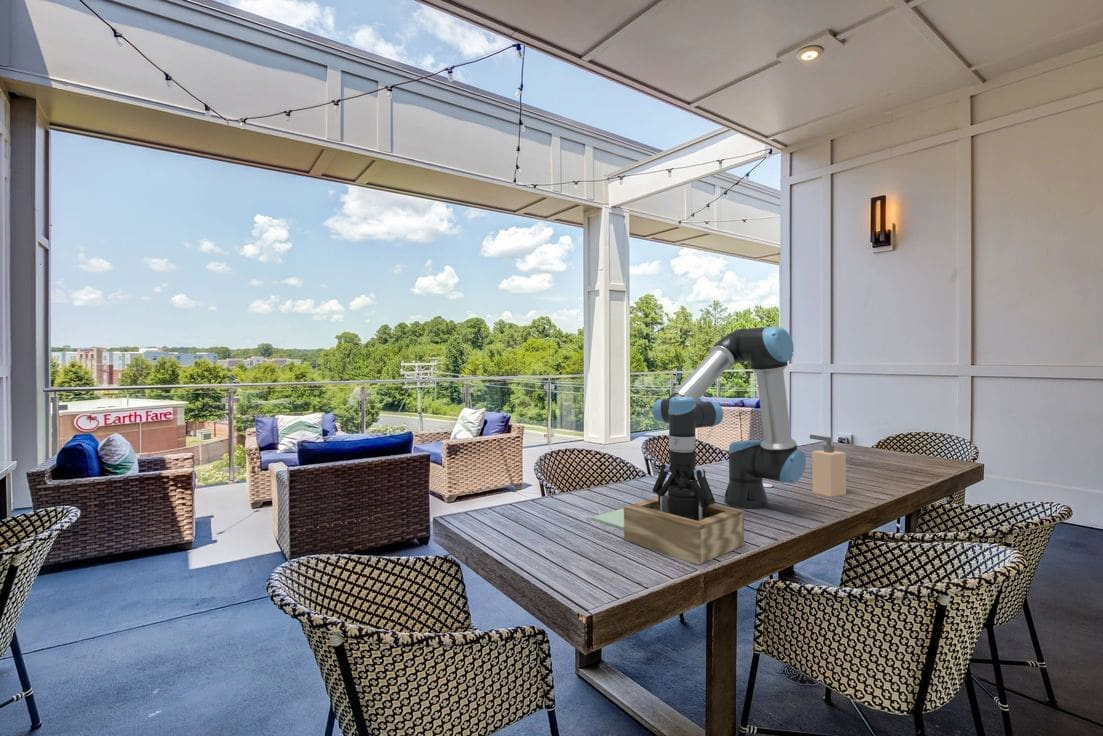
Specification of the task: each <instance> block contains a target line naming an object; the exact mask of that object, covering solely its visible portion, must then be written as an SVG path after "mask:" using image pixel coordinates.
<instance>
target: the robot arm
mask: <svg viewBox="0 0 1103 736" xmlns="http://www.w3.org/2000/svg"><path fill="white" fill-rule="evenodd" d="M793 353H794V343H793V340H792V337H791V335H790V333H789V332H788V331H787V330H786V329H785V328H784V327H779V326H761V327H749V328H739V329H736V330H734V331H732V332H730V333H728V334H726V335H725V336H724V337H722V338H720V339H719V340H718V341H717V342H716V343H715V344H713V346H712V347H711V348H709V351H708V355H707V356H706V357H705V358H704V360H702V362H701V363H700V364H699V365H698V366H697V367H696V368H695V369H694V370H693V371H692V372H691V373H690V374H689V375H688V376H687V377H686V378H685V380H683V381H682V383H681V384H680V385H679V386H678V387H677V388H676V389H675V390H674V391H673V392H672V393H671V394H670V395H669V396H668V397H667V398H662V399H661V398H659V399H657V400H656V401H654V403H653V406H652V410H651V411H652V416H653V417H654V419H655V420H656V421H658V422H660V423H665V424H668V429H669V431H668V433H669V434H668V441H669V443H668V446H669V447H668V449H670V450H669V451H668V455H669V457H668V461H669V462H666V463H662V464H660V470H659V474H658V477H657V478H656V481H655V483H654V486H653V488H652V493H654V494H657V497H658V505H659V506H660V511H661V512H665V513H668V495H667V492H668V487H670V486H672V485H673V484H674V482H675V480H676V482H679V479H678V478H677V474H678V475H681V476H684V477H685V478H684V480H685V481H686V483H687V485H688V486H690V487H691V489H693V490H694V492H696V497H697V499H698V500H699V502H700V503H701V505H699V520H702V519H705V518H707V517H708V516H709V505H712V504H716V499H715V496H714V494H713V492H712V489H711V487H710V484H709V482H708V480H707V477H706V470H705V469H703V468H702V469H696V466H695V465H696V461H697V459H696V457H697V456H696V455H697V454H696V451H695V450H696V448H697V445H696V429H698V428H709V427H710V428H712V427H715V426H718V425H719V424H721V422H722V421H723V418H724V409H723V408H722V406H721V405H720V403H718V402H716V401H711V400H710V401H708V400H706V401H699V399H700V398H701V397H702V396H703V395H704V394H705V393H706V392H707V390H708V389H709V388H711V386H712V385H713V384H714V383H715V382H716V381H717V380H718V379H719V378H720V376H722V374H723V373H724V372H725V371H726V370H729V369H732V367H734V365H735V364H738V363H743V362H744V363H750V370H752V371H753V372H754V373H756V374H755V375H756V380H757V389H758V390H757V391H758V398H759V407H760V414H761V422H762V423H761V424H762V431H763V440H761V439H752V440H751V439H749V440H747V439H746V440H737V441H732V442H731V443H730V444H729V447H728V478H729V479H728V484H727V486H726V490H725V493H724V497H723V499H724V503H725V504H726V505H728V506H731V507H733V508H741V509H762V508H766V507H767V506H768V505H769V498H768V495H767V492H766V489H765V486H764V484H763V483H764V482H763V480H769V481H773V482H774V481H775V482H780V483H781V484H785V483H787V484H795V483H797V482H799V481H800V480H801V478H802V476H803V475H804V472H805V471H806V470H805V469H806V467H807V456H806V453H805V452H804V451H803V450H801V449H798V443H797V441H796V440H795V439H793V438H792V433H791V432H792V431H791V427H790V426H791V425H790V417H789V409H788V400H787V389H786V382H785V372H784V370H785V369H786V368H787V367H788V362H790V360H791V359H792V358H793V355H794V354H793ZM669 463H670V464H669ZM669 473H670V475H669V477H668V474H669ZM667 477H668V478H667ZM666 479H667V480H666ZM691 480H692V481H691Z"/></svg>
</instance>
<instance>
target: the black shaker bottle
mask: <svg viewBox="0 0 1103 736" xmlns="http://www.w3.org/2000/svg"><path fill="white" fill-rule="evenodd" d="M677 478H678V479H679V482H676V480H675V482H674V484H673V485H672V486H670V487H668V491H667V492H668V493H667V494H668V497H669V498H670V511H669V514H673V515H677V516H681V517H684V518H688V519H692V520H696V521H699V500H698V499H697V497H696V492H694V490H693V489H691V487H690V486H688V485H687V483H686V481H685V480H684V478H685V477H684V476H681V475H678V474H677ZM691 481H692V480H691Z"/></svg>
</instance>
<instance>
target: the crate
mask: <svg viewBox="0 0 1103 736" xmlns="http://www.w3.org/2000/svg"><path fill="white" fill-rule="evenodd" d="M666 495H668V493H666ZM699 505H701V503H700V502H699ZM623 508H624V530H623V535H624V536H623V540H624V541H627V542H629V543H632V544H635V545H638V546H641V547H644V548H646V549H650V550H653V551H657V552H658V553H659V552H660V553H663V554H665V555H668V556H670V557H675V558H677V559H680V560H683V561H686V562H689V563H692V564H695V563H696V564H695V565H698V564H700V565H702V564H704V563H703V562H705V563H707V562H709V561H711V560H713V558H714V559H716V558H718V557H720V556H719V555H721V556H722V554H723V555H725V554H727V553H730V552H732V551H735V550H736V549H738V548H742V547H743V546H745V524H744V523H745V521H744V520H745V518H744V517H745V511H744V510H743V509H739V508H736V507H730V506H725V505H721V504H716V503H715V504H712V505H709V516H708V517H707V518H705V519H702V520H699V521H696V520H692V519H688V518H684V517H681V516H677V515H673V514H669V511H670V498H669V497H668V513H665V512H661V511H660V506H659V505H658V496H656V497H653V498H650V499H646V500H642V501H638V502H635V503H632V504H628V505H625V506H624V505H623ZM724 553H725V554H724ZM717 556H718V557H717ZM715 557H716V558H715ZM708 560H709V561H708ZM706 561H707V562H706ZM701 563H702V564H701Z"/></svg>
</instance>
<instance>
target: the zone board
mask: <svg viewBox="0 0 1103 736" xmlns="http://www.w3.org/2000/svg"><path fill="white" fill-rule="evenodd" d="M591 521H595V522H599V523H601V524H605V525H607V524H608V525H607V526H610V527H614V528H617V529H620V530H623V531H624V507H623V508H620V509H619V508H618V509H616V510H613V511H609V512H605V513H601V514H598V515H594V516H592V517H591Z"/></svg>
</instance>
